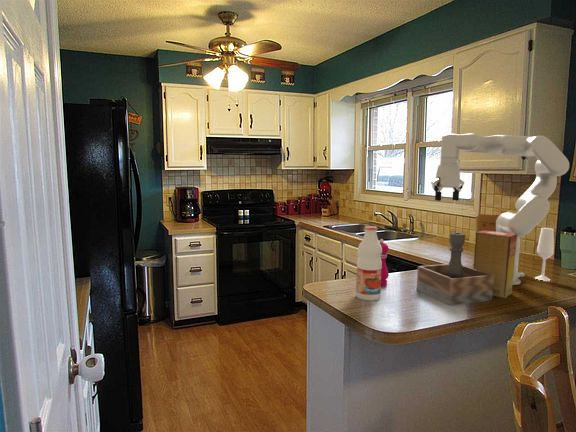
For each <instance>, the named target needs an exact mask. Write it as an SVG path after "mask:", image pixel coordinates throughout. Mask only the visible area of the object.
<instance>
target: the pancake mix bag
mask: <svg viewBox="0 0 576 432" xmlns="http://www.w3.org/2000/svg"><path fill="white" fill-rule="evenodd" d="M500 215H501V214H485V213H483V214H482V213H480V214H478V215H476V216H475V233H474V234H475V235H476V233H477V232H479V231H484V230H485V231H493V232H496V220H497V218H498V217H499V216H500Z"/></svg>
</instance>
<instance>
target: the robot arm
mask: <svg viewBox="0 0 576 432" xmlns="http://www.w3.org/2000/svg"><path fill="white" fill-rule="evenodd" d="M440 149H441V150H440V163H439V165H438V166H437V168H436V173H435V175H436V176H435V179H433V180H431V182H430V183H431V186H432V189H433V190H434V193H435V195H434V200H435V201H437V202H440V201H442V189H444V188H449V189H451V188H452V189H453V191H452V201H457V202H458V201H459V200H460V199H459V198H460V192H461V191H462V189H463V186H464V185H465V181H464V180H462V179H461V171H460V165H459V163H460V162H461V161H460V159H459V157H460V152H464V153H477V154H479V153H480V154H490V155H503V156H517V157H518V156H519V157H535V158H536V159H537V160H536V162H535V165H534V170H535V180H534V182H532V184H531V185H530V187H529V188H528V189H526V191H524V193H523V194H522V195H521V196H520V197H519V198H518V199H517V200H516V202H515V205H514V207H515V210H516V213H515V212H511V211H507V212H503V213H501V214H499V215H500V216H499V217H498V218H497V220H496V232H501V233H509V234H517V242H516V253H515V262H514V273H513V285H512V286H519V285H520V284H521V282H522V281H521V280H520V279H519V278H523V277H525V272H520V271H519V272H518V270H519V260H520V259H519V258H520V248H521V237H525V236H526V235H527V236H528V234H529V233H530V232H531V231H533V230H534V228H536V226H538V225H539V223H541V222H542V221H543V219H544V218H545V217H546V216H547V215H548V213H549V212H550V208H551V204H550V201H549V198H550V197H551V195H553V193H554V191H556V188H557V183H558V182H557V180H558V179H557V177H560V176H563V175H565V174H566V173H568V171H569V169H570V162H569V160H568V158H567V157H566V156H565V154H564V153H563V152H562V151H561V150H560V148H558V146H556V145H555V144H554V142H552V141H551V140H550V139H549V138H548V137H547V136H544V135H535V136H529V135H528V136H527V135H510V134H497V135H488V136H486V135H485V136H484V135H478V134H476V133H473V132H472V133H471V132H470V133H464V134H463V133H462V134H458V133H457V134H456V133H446V134H443V135H442V137H441V147H440Z"/></svg>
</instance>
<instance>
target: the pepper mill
mask: <svg viewBox="0 0 576 432" xmlns="http://www.w3.org/2000/svg"><path fill="white" fill-rule="evenodd" d="M379 243H380V245H381V247H382V253H381V257H380V258H381V261H382V270H381V287H386V286H387V285H388V280H387V279H388V278H389V275H390V274H389V270H388V268H387V263H386V260H387V257H388V254H387V253H389V252H388V251H389V246H388V244H386V243H385V242H384V239H383V238H381V239H379Z"/></svg>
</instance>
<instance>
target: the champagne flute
mask: <svg viewBox="0 0 576 432" xmlns="http://www.w3.org/2000/svg"><path fill="white" fill-rule="evenodd" d="M554 239H555V229H554V228H552V227H551V228H550V227H541V229H540V234H539V238H538V244H537V247H536V253H537V254H538V256H539V257H540V258H541V259H542V265H541V274H540V275H537V276H535V277H534V278H535V279H534V280H536V279H538V280H537V281H540V280H543V281H542V282H551V281H550V280H551V279H550V278H548V276H546V275H545V274H546V273H545V272H546V262H547V259H549V258H551V257H552V256H553V255H554V254H555V240H554Z"/></svg>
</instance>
